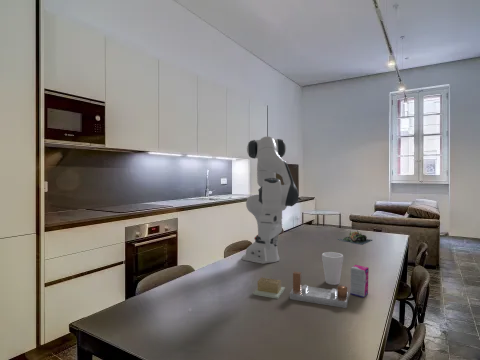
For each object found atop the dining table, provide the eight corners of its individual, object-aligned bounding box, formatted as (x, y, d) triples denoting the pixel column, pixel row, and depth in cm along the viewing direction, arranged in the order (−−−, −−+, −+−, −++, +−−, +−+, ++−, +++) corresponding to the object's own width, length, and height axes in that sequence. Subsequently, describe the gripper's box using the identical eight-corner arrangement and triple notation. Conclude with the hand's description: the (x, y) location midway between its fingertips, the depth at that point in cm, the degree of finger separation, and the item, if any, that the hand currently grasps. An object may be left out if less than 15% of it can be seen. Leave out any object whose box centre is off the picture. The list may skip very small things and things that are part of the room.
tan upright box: (257, 290, 129) (257, 281, 129) (261, 286, 134) (261, 277, 134) (277, 293, 125) (277, 284, 125) (281, 289, 130) (280, 280, 130)
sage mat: (252, 294, 127) (252, 292, 127) (261, 285, 137) (261, 283, 137) (278, 298, 122) (278, 296, 122) (284, 289, 132) (284, 287, 132)
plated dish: (347, 234, 252) (347, 225, 252) (382, 239, 233) (382, 230, 233) (328, 241, 227) (328, 232, 226) (365, 248, 207) (365, 238, 207)
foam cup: (336, 278, 146) (336, 251, 145) (347, 284, 137) (347, 256, 136) (318, 279, 144) (318, 252, 143) (328, 286, 135) (328, 258, 134)
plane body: (289, 299, 122) (289, 275, 122) (295, 290, 131) (295, 268, 131) (346, 308, 113) (346, 283, 113) (348, 298, 122) (348, 275, 122)
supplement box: (364, 298, 122) (364, 270, 122) (349, 294, 126) (349, 267, 126) (368, 293, 126) (368, 266, 126) (354, 290, 130) (354, 264, 130)
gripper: (272, 211, 141) (272, 240, 142) (257, 218, 122) (257, 251, 123) (285, 212, 139) (285, 241, 139) (271, 219, 120) (271, 253, 120)
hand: (272, 246), depth 131 cm, fingers open, 8 cm apart
